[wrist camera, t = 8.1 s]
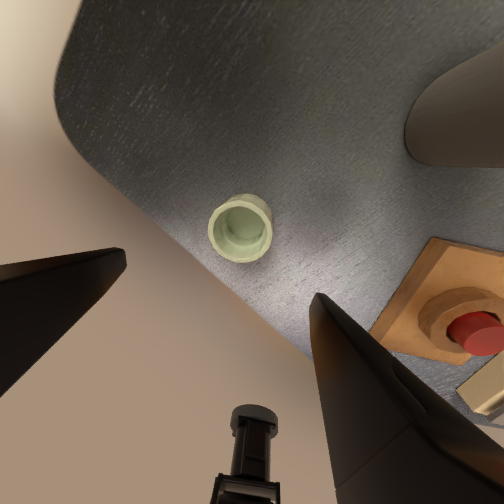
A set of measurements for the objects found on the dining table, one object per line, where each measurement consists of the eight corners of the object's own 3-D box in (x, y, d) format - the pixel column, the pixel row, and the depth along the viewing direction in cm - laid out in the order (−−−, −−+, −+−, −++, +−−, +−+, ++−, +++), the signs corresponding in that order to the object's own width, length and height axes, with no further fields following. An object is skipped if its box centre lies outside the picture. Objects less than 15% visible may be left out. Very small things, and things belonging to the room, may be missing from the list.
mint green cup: (266, 248, 19) (264, 268, 15) (218, 237, 19) (205, 255, 15) (278, 199, 16) (279, 209, 13) (224, 187, 17) (210, 194, 13)
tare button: (473, 341, 17) (494, 360, 15) (438, 333, 17) (454, 351, 15) (501, 315, 15) (526, 332, 14) (462, 306, 16) (483, 322, 14)
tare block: (446, 350, 22) (475, 382, 18) (368, 332, 22) (384, 361, 19) (535, 259, 16) (597, 282, 13) (431, 237, 16) (468, 254, 13)
